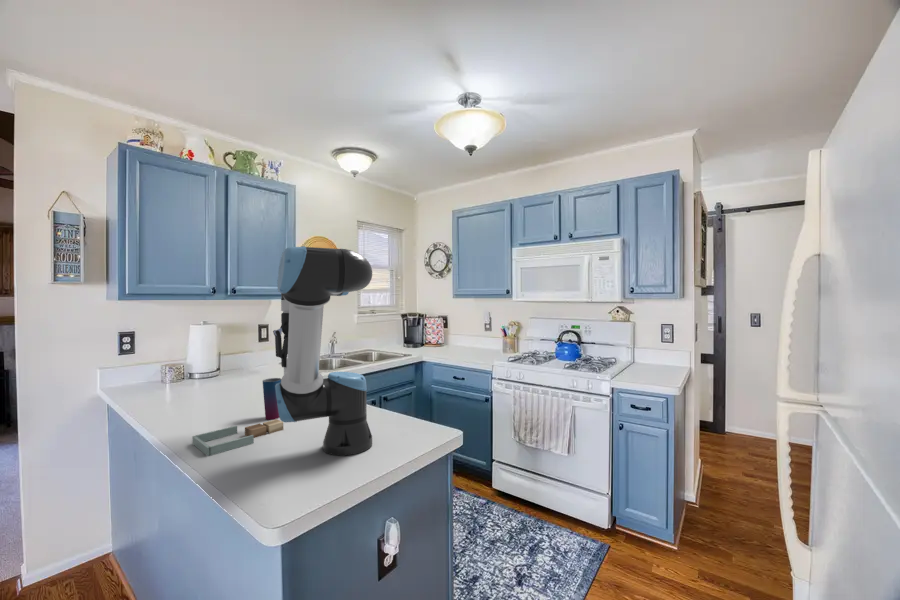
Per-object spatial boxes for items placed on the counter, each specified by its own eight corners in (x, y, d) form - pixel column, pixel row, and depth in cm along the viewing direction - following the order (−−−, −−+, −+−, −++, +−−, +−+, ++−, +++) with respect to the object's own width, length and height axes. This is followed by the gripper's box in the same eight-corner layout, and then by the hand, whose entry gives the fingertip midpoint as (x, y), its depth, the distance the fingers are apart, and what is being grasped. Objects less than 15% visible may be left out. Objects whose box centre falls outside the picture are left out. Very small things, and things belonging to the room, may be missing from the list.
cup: (274, 421, 146) (274, 382, 146) (258, 420, 147) (258, 381, 147) (285, 415, 153) (285, 378, 152) (270, 414, 154) (270, 377, 154)
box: (253, 443, 124) (253, 435, 124) (207, 456, 114) (207, 447, 114) (236, 432, 134) (236, 425, 134) (192, 443, 124) (192, 436, 124)
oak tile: (283, 430, 137) (283, 422, 137) (269, 434, 133) (269, 425, 133) (276, 427, 140) (276, 419, 140) (262, 431, 136) (262, 422, 136)
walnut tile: (266, 435, 132) (266, 426, 132) (251, 439, 128) (251, 430, 128) (259, 431, 135) (259, 423, 135) (244, 436, 131) (244, 427, 131)
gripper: (308, 310, 150) (309, 370, 151) (264, 312, 137) (264, 377, 138) (318, 311, 145) (319, 372, 146) (273, 313, 132) (274, 380, 133)
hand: (292, 374), depth 142 cm, fingers open, 4 cm apart
